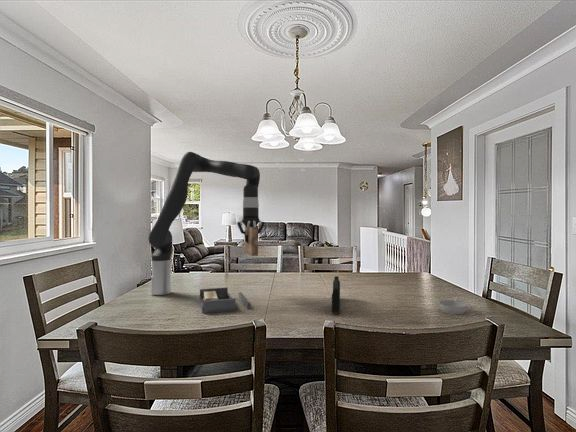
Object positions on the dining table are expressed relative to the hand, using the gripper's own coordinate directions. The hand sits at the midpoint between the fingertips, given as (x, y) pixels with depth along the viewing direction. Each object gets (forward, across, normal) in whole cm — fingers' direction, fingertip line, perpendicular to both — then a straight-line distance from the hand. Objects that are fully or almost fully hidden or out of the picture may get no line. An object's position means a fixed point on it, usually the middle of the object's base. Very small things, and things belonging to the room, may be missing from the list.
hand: (250, 242), depth 176 cm
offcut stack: (+27, +20, +8) cm, 35 cm away
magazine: (+27, -33, +26) cm, 50 cm away
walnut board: (+5, 0, 0) cm, 5 cm away
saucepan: (+27, -78, +47) cm, 95 cm away
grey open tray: (+27, +14, +8) cm, 31 cm away
